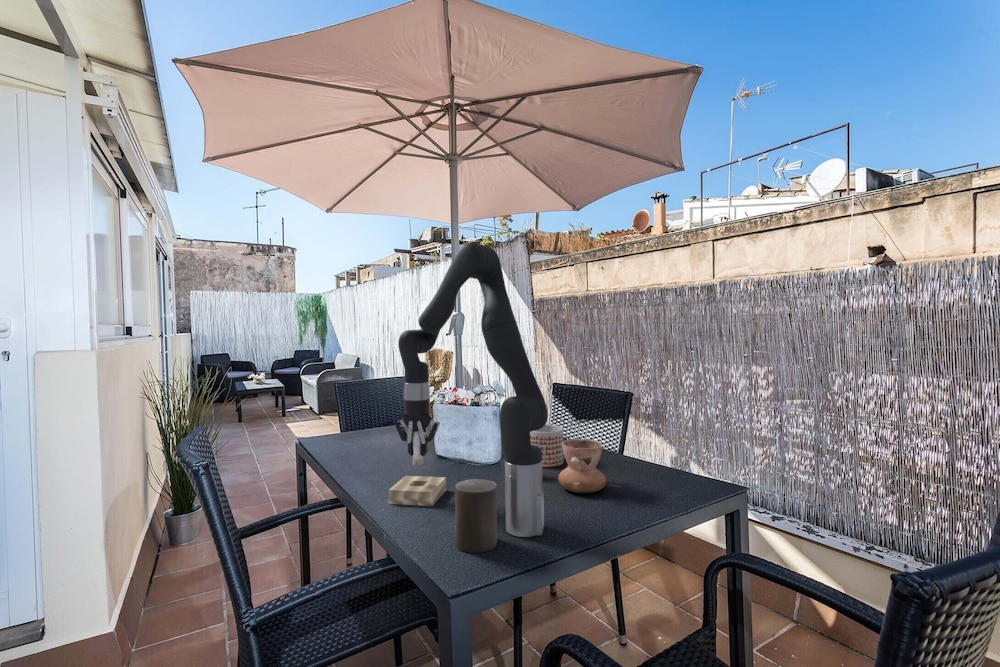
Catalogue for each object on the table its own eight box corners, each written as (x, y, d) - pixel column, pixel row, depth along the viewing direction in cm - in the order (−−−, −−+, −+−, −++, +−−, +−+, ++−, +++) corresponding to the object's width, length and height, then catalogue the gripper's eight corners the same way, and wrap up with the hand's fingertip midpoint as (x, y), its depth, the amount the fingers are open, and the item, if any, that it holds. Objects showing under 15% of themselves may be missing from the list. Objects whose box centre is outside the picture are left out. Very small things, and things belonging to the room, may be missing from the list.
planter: (533, 469, 167) (532, 433, 167) (521, 459, 180) (520, 425, 180) (569, 466, 171) (569, 430, 170) (555, 456, 184) (554, 423, 184)
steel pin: (424, 462, 143) (424, 429, 143) (421, 465, 140) (420, 431, 140) (414, 462, 144) (414, 429, 144) (411, 465, 141) (410, 431, 141)
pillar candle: (469, 557, 105) (469, 489, 104) (447, 541, 112) (447, 478, 112) (505, 545, 110) (505, 481, 110) (482, 531, 118) (481, 470, 118)
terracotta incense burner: (598, 502, 136) (598, 452, 136) (550, 494, 142) (550, 446, 142) (613, 483, 152) (613, 439, 152) (569, 477, 159) (569, 434, 158)
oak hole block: (445, 490, 147) (445, 477, 147) (432, 506, 135) (432, 492, 135) (405, 488, 150) (405, 475, 150) (389, 503, 137) (388, 489, 137)
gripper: (443, 395, 144) (444, 452, 145) (399, 394, 147) (400, 451, 147) (435, 399, 137) (436, 459, 137) (389, 398, 139) (390, 457, 140)
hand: (417, 455), depth 142 cm, fingers closed on steel pin, 3 cm apart
